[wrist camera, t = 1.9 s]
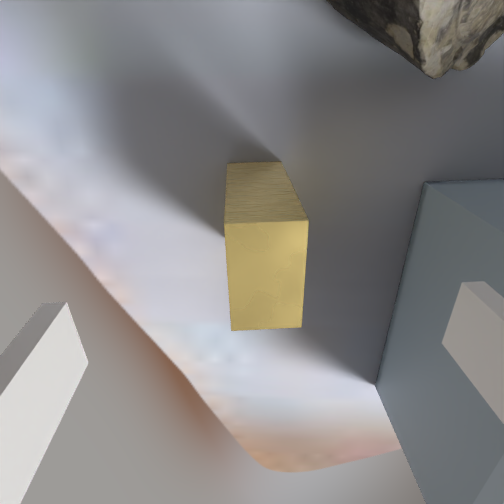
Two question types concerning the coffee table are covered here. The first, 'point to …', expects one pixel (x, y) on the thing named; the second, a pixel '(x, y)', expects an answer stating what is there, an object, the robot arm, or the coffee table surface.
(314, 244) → the coffee table surface
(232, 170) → the block
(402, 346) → the coin box
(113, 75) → the coffee table surface
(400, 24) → the fossil
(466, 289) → the robot arm
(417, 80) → the coffee table surface
